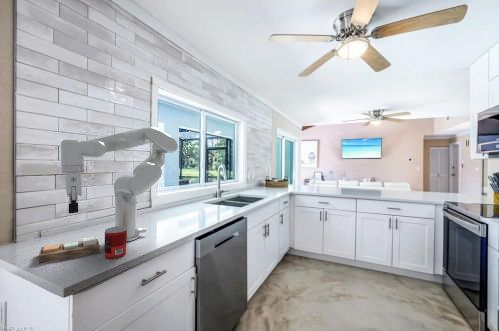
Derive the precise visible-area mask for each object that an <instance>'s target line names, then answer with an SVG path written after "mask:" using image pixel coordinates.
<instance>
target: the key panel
mask: <svg viewBox="0 0 499 331" xmlns="http://www.w3.org/2000/svg"><path fill="white" fill-rule="evenodd" d="M73 242H74V241H73ZM73 242H71V243H73ZM77 242H78V247H77V248H70V249H64V244H65V243H61V244H60V243H59V244H58V245H59V250H58V251H52V252H46V253H43V249H44V247H45V246H41V248H40V251H39V254H38V258H37V259H38V260H37V265H41V264H47V263H51V262H52V263H53V262H58V261H64V260H68V259H69V260H70V259H74V258H80V257H85V256H90V255H96V254H100V253H101V251H100V250H101V246H100V242H99V239H98V238H96V244H95V245H89V246H83V240H81V241H79V240H78V241H77Z"/></svg>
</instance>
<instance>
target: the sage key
mask: <svg viewBox="0 0 499 331" xmlns="http://www.w3.org/2000/svg"><path fill="white" fill-rule="evenodd" d="M78 242H79V241H75V242H74V241H73V243H72V242H67V243H63V244H64V249H70V248H77V247H78Z"/></svg>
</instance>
